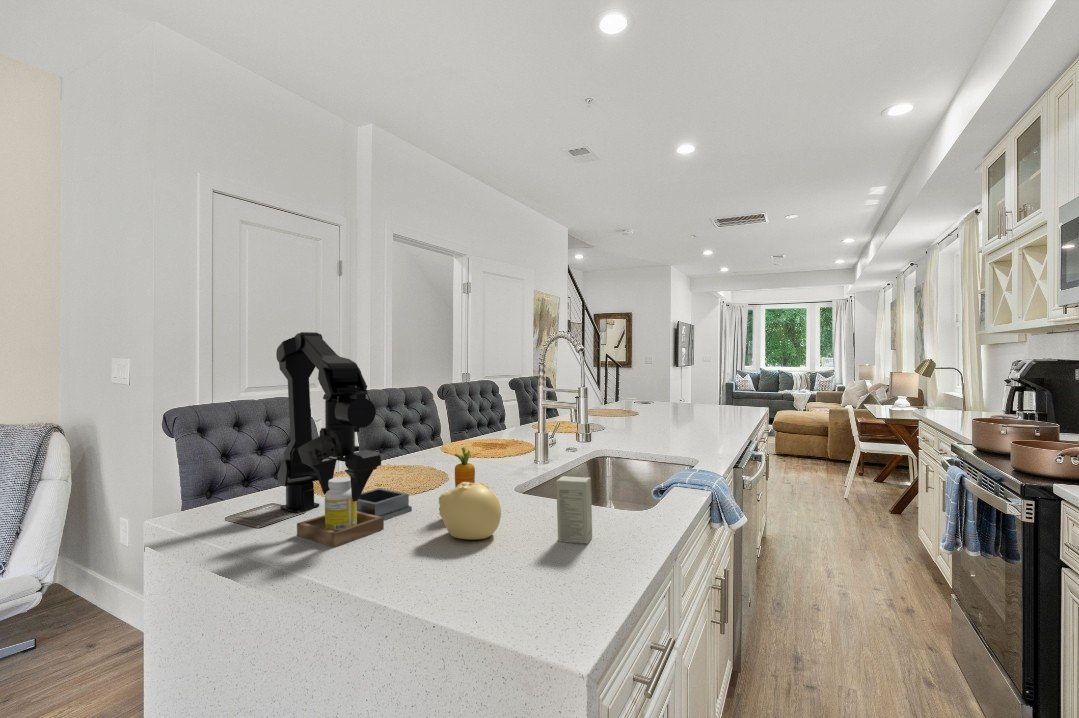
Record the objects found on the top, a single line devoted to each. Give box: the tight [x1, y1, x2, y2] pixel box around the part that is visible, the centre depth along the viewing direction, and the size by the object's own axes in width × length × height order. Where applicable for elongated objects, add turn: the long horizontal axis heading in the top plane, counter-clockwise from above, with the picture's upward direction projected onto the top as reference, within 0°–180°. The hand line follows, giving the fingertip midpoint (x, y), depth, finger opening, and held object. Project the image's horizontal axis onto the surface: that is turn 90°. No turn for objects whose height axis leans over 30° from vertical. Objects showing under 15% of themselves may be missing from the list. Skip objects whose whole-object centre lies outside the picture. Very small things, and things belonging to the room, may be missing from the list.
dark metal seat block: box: [356, 488, 413, 521], centre depth 124 cm, size 11×11×4 cm
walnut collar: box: [296, 511, 385, 548], centre depth 111 cm, size 12×12×2 cm
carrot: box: [454, 447, 476, 488], centre depth 124 cm, size 5×5×15 cm
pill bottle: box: [324, 476, 357, 531], centre depth 111 cm, size 6×6×11 cm
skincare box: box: [555, 475, 593, 544], centre depth 106 cm, size 6×4×12 cm
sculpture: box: [438, 482, 502, 540], centre depth 109 cm, size 11×12×11 cm
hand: (340, 497), depth 111 cm, fingers open, 9 cm apart
